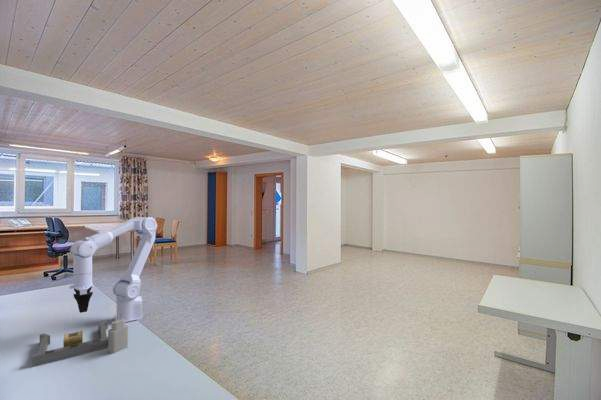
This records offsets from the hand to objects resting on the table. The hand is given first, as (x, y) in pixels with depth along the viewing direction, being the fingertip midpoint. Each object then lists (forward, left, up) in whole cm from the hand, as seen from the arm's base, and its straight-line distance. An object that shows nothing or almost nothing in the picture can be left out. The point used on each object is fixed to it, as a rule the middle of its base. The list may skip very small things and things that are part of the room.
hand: (83, 308), depth 109 cm
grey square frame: (+2, +8, -10) cm, 13 cm away
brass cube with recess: (+3, +11, -10) cm, 15 cm away
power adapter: (-10, +20, -10) cm, 24 cm away
